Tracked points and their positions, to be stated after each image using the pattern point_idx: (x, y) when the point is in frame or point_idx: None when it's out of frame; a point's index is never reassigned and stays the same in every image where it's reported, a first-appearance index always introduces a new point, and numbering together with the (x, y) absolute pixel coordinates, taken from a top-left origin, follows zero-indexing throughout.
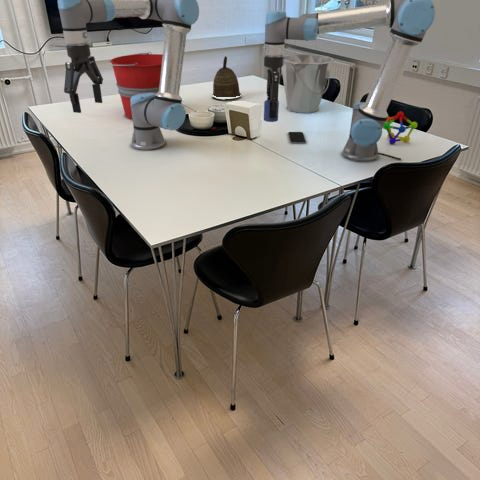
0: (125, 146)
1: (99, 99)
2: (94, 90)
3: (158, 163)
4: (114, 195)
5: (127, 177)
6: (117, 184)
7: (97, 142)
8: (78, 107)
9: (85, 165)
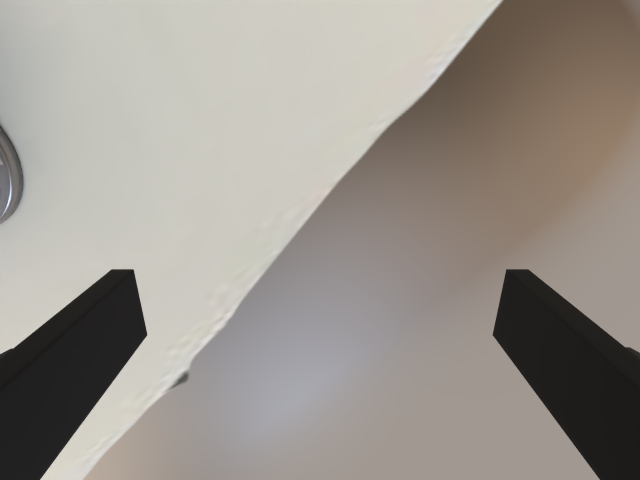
0: (25, 241)
1: (118, 303)
2: (61, 424)
3: (101, 3)
4: (451, 25)
5: (285, 66)
6: (357, 70)
7: None
8: (561, 304)
9: (246, 275)
